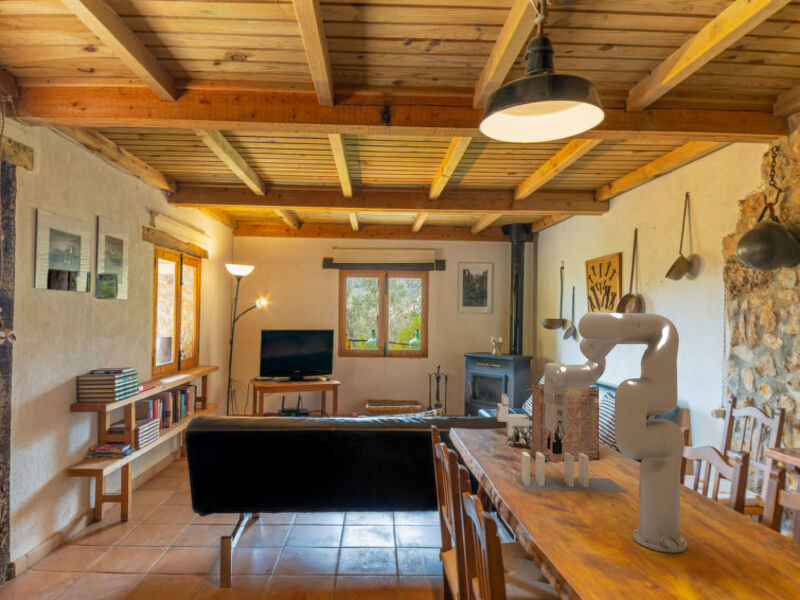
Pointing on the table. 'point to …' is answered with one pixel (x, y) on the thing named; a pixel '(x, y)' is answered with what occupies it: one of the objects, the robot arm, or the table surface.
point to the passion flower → (520, 436)
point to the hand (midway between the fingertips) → (554, 450)
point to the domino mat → (560, 485)
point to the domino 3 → (552, 456)
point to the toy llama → (511, 417)
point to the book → (569, 423)
